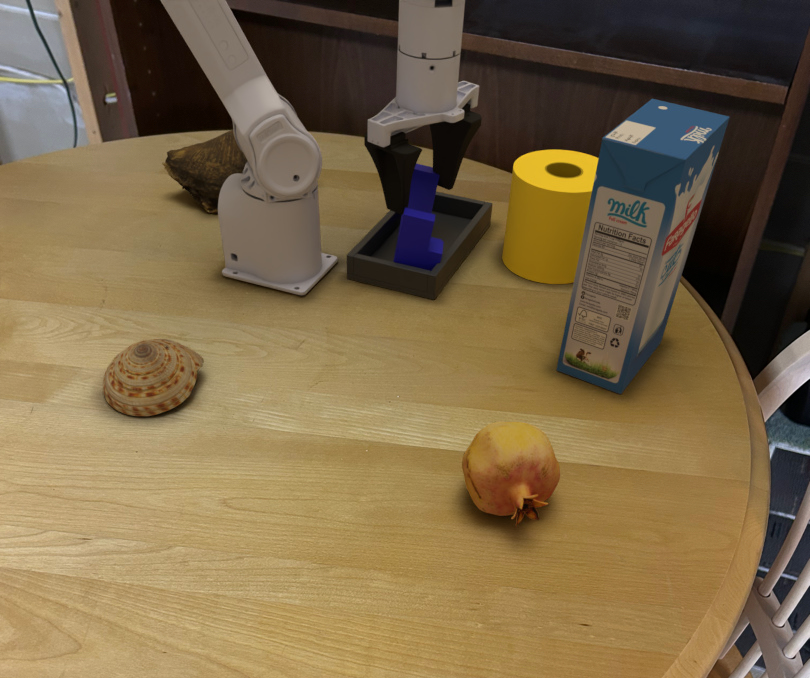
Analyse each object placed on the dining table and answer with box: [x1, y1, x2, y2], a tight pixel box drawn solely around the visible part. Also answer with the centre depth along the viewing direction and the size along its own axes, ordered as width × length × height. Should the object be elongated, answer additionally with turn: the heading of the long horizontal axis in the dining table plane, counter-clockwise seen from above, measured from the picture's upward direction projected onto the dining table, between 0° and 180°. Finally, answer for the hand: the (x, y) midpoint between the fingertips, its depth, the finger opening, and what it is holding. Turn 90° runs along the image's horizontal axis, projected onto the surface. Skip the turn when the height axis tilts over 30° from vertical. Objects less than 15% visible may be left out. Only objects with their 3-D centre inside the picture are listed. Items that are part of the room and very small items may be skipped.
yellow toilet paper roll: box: [501, 149, 599, 285], centre depth 82 cm, size 10×10×9 cm
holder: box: [346, 190, 493, 301], centre depth 86 cm, size 10×18×3 cm, turn 157°
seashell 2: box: [161, 129, 248, 214], centre depth 92 cm, size 16×9×7 cm, turn 111°
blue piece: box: [393, 162, 443, 271], centre depth 83 cm, size 12×4×6 cm, turn 176°
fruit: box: [461, 421, 561, 527], centre depth 58 cm, size 7×7×10 cm
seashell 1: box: [102, 338, 205, 417], centre depth 68 cm, size 8×6×8 cm
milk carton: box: [555, 98, 731, 395], centre depth 67 cm, size 10×6×20 cm, turn 147°
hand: (420, 198), depth 82 cm, fingers open, 7 cm apart
